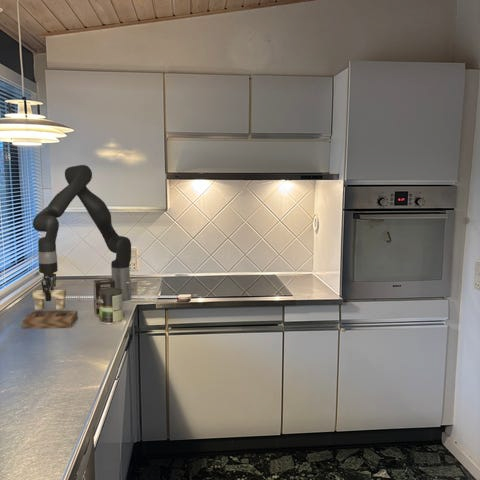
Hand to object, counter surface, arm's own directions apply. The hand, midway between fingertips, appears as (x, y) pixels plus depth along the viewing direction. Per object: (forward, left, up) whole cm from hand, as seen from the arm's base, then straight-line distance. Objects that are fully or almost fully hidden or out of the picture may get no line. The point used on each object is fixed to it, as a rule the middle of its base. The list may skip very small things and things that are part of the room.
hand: (50, 299), depth 211 cm
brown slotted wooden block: (0, 0, -11) cm, 11 cm away
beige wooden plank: (0, 0, -4) cm, 4 cm away
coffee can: (-26, -2, -11) cm, 28 cm away
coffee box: (-21, -13, -11) cm, 27 cm away
